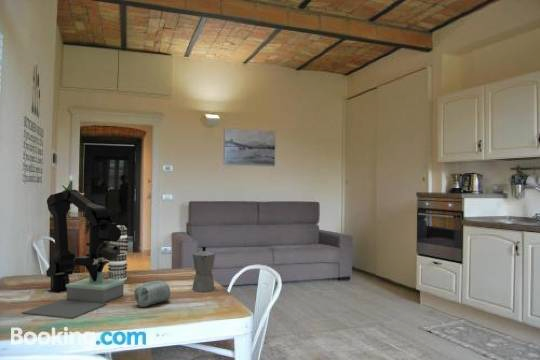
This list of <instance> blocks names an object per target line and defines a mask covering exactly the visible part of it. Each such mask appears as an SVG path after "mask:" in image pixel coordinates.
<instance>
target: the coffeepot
mask: <svg viewBox="0 0 540 360" xmlns="http://www.w3.org/2000/svg"><path fill="white" fill-rule="evenodd" d="M201 249H202V250H200V251H198V252H195V253H193V254H192V260H193V265H194V266H193V267H194V270H195V274H194V277H193V283H192V288H191V289H192V291H193V292H197V293H208V292H212V291H214V290H215V282H214V275H213V272H212V271H213V269H214V264H215V258H216V257H215V256H216V253H214V252H212V251H206V249H207V247H206V246H202V247H201Z"/></svg>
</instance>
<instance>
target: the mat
mask: <svg viewBox="0 0 540 360" xmlns="http://www.w3.org/2000/svg"><path fill="white" fill-rule="evenodd" d="M107 305H108V304H107V303H104V304H102V303H91V302H80V301H69V300H67V299H58V300H55V301H53V302H50V303H49V302H48V303H46V304H44V305H40V306H37V307H34V308H31V309H28V310H25V311H22V312H21V314H23V315H30V316H31V315H32V316H33V315H34V316H41V317H52V318H60V319H71V320H73V319H77V318H78V317H80V316H83V315H86V314H88V313H90V312H93V311H95V310H97V309H100V308H102V307H105V306H107Z"/></svg>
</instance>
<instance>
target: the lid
mask: <svg viewBox="0 0 540 360" xmlns="http://www.w3.org/2000/svg"><path fill="white" fill-rule="evenodd" d="M123 283H124V284H126V280H112V279H108V278H104V271H102V272H97V279H96V281H93V280H92V278H91V276H90V275H89V277H87V278H84V279H81V280H76V281H72V282H69V284H66V287H70V288H82V289H94V290H106V289H109V288H112V287H115V286H118V285H121V284H123Z"/></svg>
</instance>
